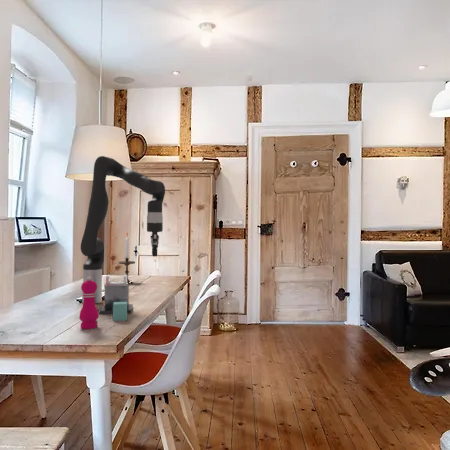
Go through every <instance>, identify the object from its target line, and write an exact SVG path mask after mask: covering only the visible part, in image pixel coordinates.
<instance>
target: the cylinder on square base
mask: <svg viewBox="0 0 450 450" xmlns="http://www.w3.org/2000/svg"><path fill="white" fill-rule="evenodd" d="M129 285H130V284H127V275H126V274H124V275H123V280H121V281H120V280H119V281H118V280H117V281H111V275H110V274H107V275H106V276H105V284H104V304H102V306H101V307H100V309H99V310H98V314H99V315H113V303H114V302H127V314H132V312H133V311H132V310H133V307H134V305H133V304H132V303H129V301H130V296H129V295H130V292H129V291H130V287H129Z"/></svg>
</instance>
